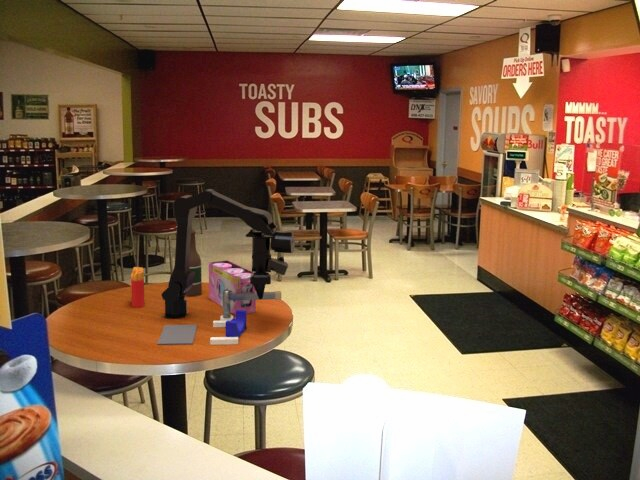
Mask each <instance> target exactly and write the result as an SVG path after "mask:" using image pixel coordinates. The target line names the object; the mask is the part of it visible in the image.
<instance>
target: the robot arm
mask: <svg viewBox="0 0 640 480" xmlns="http://www.w3.org/2000/svg"><path fill="white" fill-rule="evenodd" d="M205 204H209V205H211V206H213V207H216V208H217V209H219V210H221V211H224V212H226V213H228V214H230V215H232V216H234V217H236V218H238V219H240V220H241V221H243V222H244V223H245V225H247V226H248V227H250V230H249V232H248V233H246V234H245V237H246V238H252V239H251V271H252V272H254V273H253V274H251V277H250V284H253V286H254V288H255V290H256V293H257V295H258V298H259V299H262V298H263V294H264V292H265V288H266V285H271V283H272V279H271V278H272V277H271V276H272V275H271V274H270V273H272V272H275V273H277V274H280V275H282V276H285V275H286V272H287V270H288V267H289V264H288V263H287V262H286V261H285V258H284V256H280V255H279V256H278V257H277V258H276V257H275V258H273V257H272V254H271V250H272V251H274V253H282V254H293V253H294V251H295V248H296V247H295V246H296V245H295V244H296V241H295V235H294V231H293V230H291V231H290V230H289V231H288V230H287V231H286V230H285V231H283V230H282V231H281V230H279V228H278V227H277V225H276V224H275V222H274V221H273V217H272V214H271V213H270V211H267V210H264V209H260V208H256V207H250V206H247V205H245V204H243V203H240V202H238V201H236V200H234V199H233V198H230V197H228V196H226V195H224V194H221V193H219V192H217V191H215V190H214V189H213V188H209V189H205V190H203V191H202V192H200V193H197V194H194V195H190V194H187V195H183V196H180V197H177V198H176V199H175V200H174V201H173V203H172V209H173V217H174V221H175V223H176V233H175V234H176V236H175V252H174V267H173V270H172V272H171V274H170V276H169V282H168V286H167V288H166V289H164V291H163V292H162V293H160V294H161V298H162V300H163V301H164V316H163V317H164V318H166V319H171V318H174V319H175V318H177V319H178V318H179V319H181V318H182V319H183V318H185V317H186V315H187V313H188V300H186V296H185V294H187V291H188V290H189V289H190V288H191V287H192V284H194V283H195V282H194V275H195V272H194V271H192V272H191V271H190V268H189V256H190V241H191V230H192V225H193V221H194V219H195V216H196V214H197V210H198V208H199V207H200V206H202V205H205Z"/></svg>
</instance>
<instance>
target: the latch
mask: <svg viewBox="0 0 640 480" xmlns="http://www.w3.org/2000/svg"><path fill="white" fill-rule="evenodd" d="M231 300H256V301H261V300H263V301H264V300H268V301H269V300H275V301H282V291H281V290H275V291H264V294H263V298H262V299H259V298H258V295H257V293H256V292H237V293H231V292H230V290H223V307H222V315H223V318H230V317H231V315H232V314H231Z"/></svg>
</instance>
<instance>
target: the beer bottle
mask: <svg viewBox="0 0 640 480" xmlns="http://www.w3.org/2000/svg"><path fill="white" fill-rule="evenodd" d="M196 234H197V233H196V230H195V229H191V241H190V256H189V268H190V271H191V272H192V271H194V272H195V275H194V282H195V283H194V284H192V287H191V288H190V289H189V290H188V291H187V294H185V297H197V296H201V295H202V289H203V288H202V286H203V285H202V282H203V281H202V279H203V278H202V260H201V256H200V254H199V253H198V251H197V248H196V247H197V246H196V244H197V243H196Z"/></svg>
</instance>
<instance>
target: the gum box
mask: <svg viewBox="0 0 640 480" xmlns="http://www.w3.org/2000/svg"><path fill="white" fill-rule="evenodd" d="M253 273H254V272H252V270H249V269H248V268H245V267H242V266H240V265H238V264H236V263H234V262H232V261H230V260H226V259H225V260H218V261H210V262H208V296H209V297H208V298H209V299H210V300H211V301H212V302H214V303H216V304H217V305H219V306H220V307H222V308H223V290H230V292H231V293H237V292H256V290H255V288H254V286H253V284H250V277H251V274H253ZM237 310H246V311H247V314H251V313H256V312H257V311H256V310H257V300H231V313H232V314H233V315H235V316H236V311H237Z"/></svg>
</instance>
